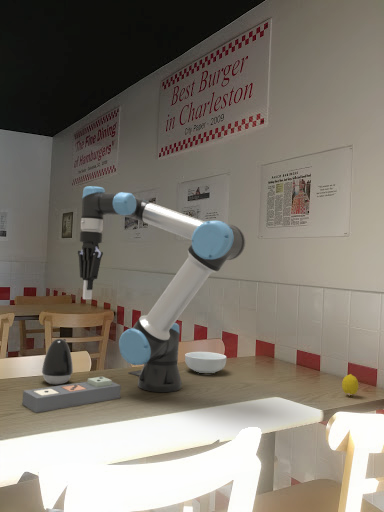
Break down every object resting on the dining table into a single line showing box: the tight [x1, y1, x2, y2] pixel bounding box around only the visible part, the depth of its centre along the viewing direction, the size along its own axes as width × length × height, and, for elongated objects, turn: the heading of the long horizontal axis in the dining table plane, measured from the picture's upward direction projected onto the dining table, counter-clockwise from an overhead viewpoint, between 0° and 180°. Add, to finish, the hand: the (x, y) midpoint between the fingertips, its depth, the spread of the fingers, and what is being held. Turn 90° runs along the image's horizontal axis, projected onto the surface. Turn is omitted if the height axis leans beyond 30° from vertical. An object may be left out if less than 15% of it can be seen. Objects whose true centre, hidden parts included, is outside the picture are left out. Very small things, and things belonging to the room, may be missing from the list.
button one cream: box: [33, 389, 59, 396], centre depth 140 cm, size 6×6×3 cm
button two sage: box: [86, 376, 113, 388], centre depth 153 cm, size 6×6×3 cm
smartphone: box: [127, 369, 142, 378], centre depth 190 cm, size 7×1×15 cm
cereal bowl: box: [184, 351, 227, 374], centre depth 197 cm, size 17×17×7 cm
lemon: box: [341, 373, 359, 395], centre depth 172 cm, size 6×6×8 cm
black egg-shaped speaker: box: [41, 338, 74, 386], centre depth 167 cm, size 10×10×15 cm
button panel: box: [21, 381, 122, 414], centre depth 147 cm, size 28×9×4 cm, turn 133°
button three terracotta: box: [61, 385, 86, 392], centre depth 147 cm, size 6×6×3 cm
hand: (87, 299), depth 168 cm, fingers closed
